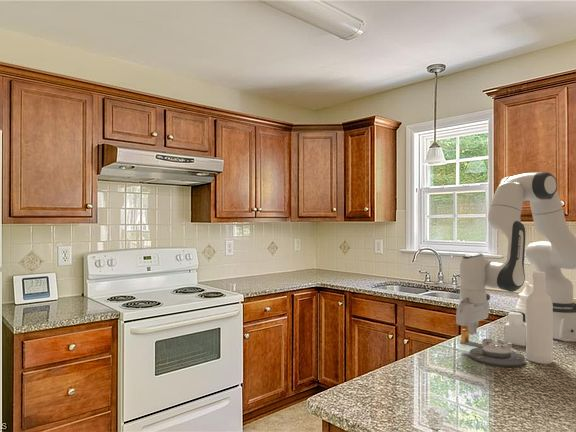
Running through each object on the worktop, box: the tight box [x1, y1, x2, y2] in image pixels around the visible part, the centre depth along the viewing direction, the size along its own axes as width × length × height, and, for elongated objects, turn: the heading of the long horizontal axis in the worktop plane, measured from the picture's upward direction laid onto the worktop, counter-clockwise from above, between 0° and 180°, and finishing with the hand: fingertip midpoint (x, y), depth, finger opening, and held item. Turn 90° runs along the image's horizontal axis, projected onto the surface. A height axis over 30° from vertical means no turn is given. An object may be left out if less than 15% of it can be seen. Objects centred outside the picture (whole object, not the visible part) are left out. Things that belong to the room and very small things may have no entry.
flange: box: [469, 347, 526, 368], centre depth 148 cm, size 17×17×2 cm
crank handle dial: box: [459, 328, 513, 358], centre depth 151 cm, size 17×9×6 cm, turn 43°
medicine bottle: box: [503, 310, 526, 347], centre depth 168 cm, size 7×7×12 cm
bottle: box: [525, 271, 554, 365], centre depth 147 cm, size 8×8×30 cm
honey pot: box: [515, 280, 533, 322], centre depth 209 cm, size 13×13×18 cm
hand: (472, 334), depth 160 cm, fingers closed
